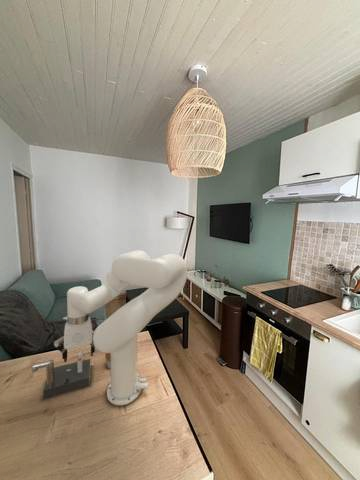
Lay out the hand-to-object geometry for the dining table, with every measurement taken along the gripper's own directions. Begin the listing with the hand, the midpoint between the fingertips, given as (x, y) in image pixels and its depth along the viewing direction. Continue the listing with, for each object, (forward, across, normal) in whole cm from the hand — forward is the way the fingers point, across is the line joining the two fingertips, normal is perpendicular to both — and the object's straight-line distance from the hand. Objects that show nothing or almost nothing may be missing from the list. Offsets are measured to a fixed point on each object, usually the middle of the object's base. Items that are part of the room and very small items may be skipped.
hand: (79, 356), depth 80 cm
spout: (+5, -11, -5) cm, 13 cm away
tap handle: (+5, 0, 0) cm, 5 cm away
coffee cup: (+8, +14, +1) cm, 16 cm away
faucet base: (+8, -3, -2) cm, 9 cm away
